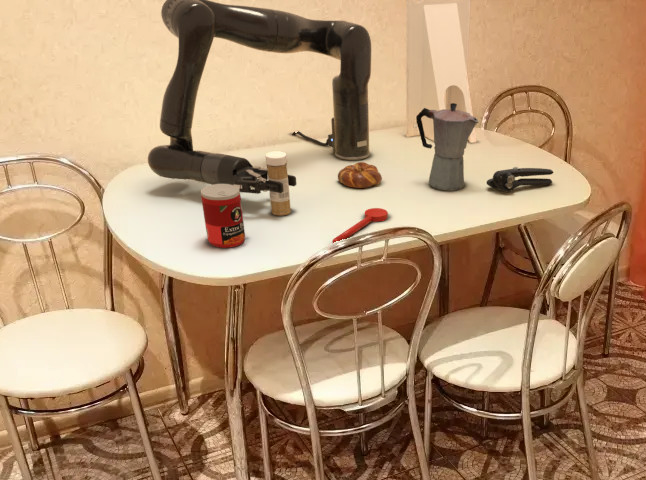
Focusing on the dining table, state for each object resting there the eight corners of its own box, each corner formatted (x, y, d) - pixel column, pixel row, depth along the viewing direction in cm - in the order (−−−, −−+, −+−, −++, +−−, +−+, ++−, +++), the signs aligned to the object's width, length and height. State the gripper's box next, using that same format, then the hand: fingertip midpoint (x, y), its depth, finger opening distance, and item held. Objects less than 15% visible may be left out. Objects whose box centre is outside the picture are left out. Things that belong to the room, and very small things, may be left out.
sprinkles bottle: (289, 207, 178) (284, 149, 171) (293, 215, 175) (288, 156, 167) (269, 210, 177) (263, 151, 169) (272, 217, 173) (267, 158, 166)
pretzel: (338, 173, 198) (337, 159, 196) (380, 173, 199) (380, 158, 197) (337, 190, 188) (336, 175, 186) (382, 189, 189) (382, 174, 187)
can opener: (496, 197, 187) (498, 174, 184) (483, 187, 192) (485, 165, 189) (559, 188, 193) (562, 166, 190) (545, 179, 198) (547, 157, 195)
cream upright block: (431, 149, 217) (434, -10, 194) (406, 135, 227) (406, -17, 204) (489, 139, 225) (499, -14, 203) (463, 127, 235) (469, -20, 213)
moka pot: (472, 194, 188) (476, 110, 177) (410, 188, 190) (411, 105, 179) (478, 181, 196) (483, 100, 184) (418, 176, 198) (420, 95, 187)
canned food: (227, 251, 158) (220, 199, 152) (199, 242, 161) (191, 191, 155) (253, 239, 163) (248, 188, 157) (226, 230, 167) (219, 180, 160)
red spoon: (344, 248, 160) (344, 242, 160) (323, 243, 162) (323, 237, 161) (391, 215, 176) (391, 209, 175) (371, 211, 178) (371, 205, 177)
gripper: (203, 164, 169) (268, 177, 163) (244, 147, 180) (305, 159, 174) (208, 197, 174) (271, 211, 168) (247, 178, 184) (308, 191, 178)
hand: (288, 184), depth 171 cm, fingers closed on sprinkles bottle, 4 cm apart
